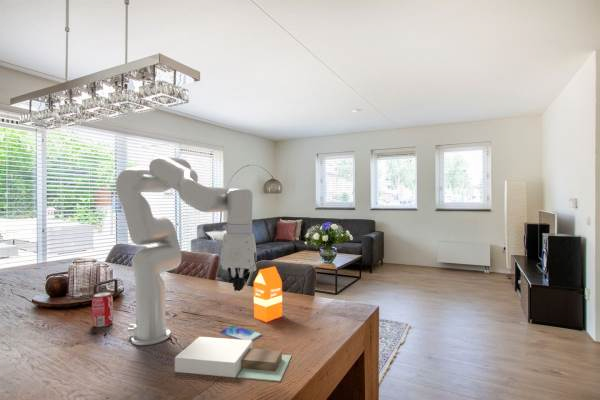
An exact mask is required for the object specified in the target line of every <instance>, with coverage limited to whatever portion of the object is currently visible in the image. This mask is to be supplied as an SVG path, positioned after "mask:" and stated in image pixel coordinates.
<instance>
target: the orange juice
mask: <svg viewBox="0 0 600 400" xmlns="http://www.w3.org/2000/svg"><path fill="white" fill-rule="evenodd" d="M253 315H254V316H253V317H254V318H255V319H257V320H259V321H262V322H265V323H268V322H270V321H273V320H275V319H279V318H280V317H282V316H283V281H282V278H281V277H280V274H279V272H278V270H277V268H276V266H271V267H267V268H262V269H259V270H258V273H257V275H256V277H255V279H254V280H253Z"/></svg>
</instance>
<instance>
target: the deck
mask: <svg viewBox="0 0 600 400" xmlns="http://www.w3.org/2000/svg"><path fill="white" fill-rule="evenodd" d="M250 348H253V341H252V340H240V339H235V338H226V337H225V338H224V337H212V336H210V337H209V336H198V337H196V339H195V340H193V342H191V343H190V344H189V345H187V347H185V348H184V349H183V350H182V351H181V352H180V353H179V354H177V355H176V356H175V357H174V372H175V373H184V374H194V375H195V374H196V375H204V376H205V375H207V376H214V377H215V376H216V377H225V378H226V377H227V378H237V376H238V375H239V373H240V372H241V370H242V369H243V368H241V359H242V358H243V357H244V355H245V354H246V353H247V351H248V350H249V349H250Z"/></svg>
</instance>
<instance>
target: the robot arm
mask: <svg viewBox="0 0 600 400" xmlns="http://www.w3.org/2000/svg"><path fill="white" fill-rule="evenodd" d="M197 173H198V172H196V171H195V170H193V169H192V167H191V164H190V163H189V162H188V161H187V160H186V159H183V158H178V157H174V156H171V157H170V156H165V155H163V156H156V157H155V158H154V159H152V160H151V161H150V163H149V165H148V168H145V167H144V168H143V167H142V168H141V167H130V168H125V169H123V170H122V171H121V172H120V173H119V174H118V176H117V178H116V182H115V188H116V195H117V197H118V199H119V202H120V204H121V206H122V210H123V212H124V216H125V217H124V218H125V222H126V225H127V229H128V234H129V238H130V239H131V242H132V243H133V244H134V245H136V246H146V245H153V244H156V245H157V246H152V247H146V248H143V249H141V250H138V251H137V252H135V253H134V255H133V256H132V257H131V258H132V259H131V269H132V273H133V277H134V286H135V287H134V288H135V294H134V295H135V323H130V324H129V325H128V328H127V330H126V331H127V333H133V335H132V336H131V339H130V341H131V342H130V343H132V344H133V345H136V346H149V345H150V346H151V345H155V344H159V343H161V342H164V341H165V340H167V339H169V338H170V337H171V335H172V332H171V330H170V329H169V328H167V317H166V315H167V312H166V310H167V309H166V305H167V304H166V303H167V302H166V284H165V281H164V280H163V278H162V276H161V274H163V273H166V272H168V271H172V270H175V269H177V268H178V267H179V266H180V265H181V263H182V251H181V247H180V242H179V240H178V234H177V230H176V227H175V226H174V223H173V222H172V221H171V219H169V218H167V217H164V216H163V217H162V216H160V217H159V216H158V217H155V216H153V213H152V208H151V205H150V204H149V202H148V200H147V199H146V197H145V196H143V194H141V193H164V192H167V191H169V190H171V189H173V190H175V191H176V192H178V193H177V194H178V196H179V197H180V199H181V201H182V202H183V203H185V204H186V205H188V206H190V207H191V208H193V209H194V210H196V211H199V212H203V213H221V212H223V213H224V212H226V224H223V225H222V229H223V230H225V233H224V234H223V237H222V240H221V241H222V242H221V249H220V259H219V263H220V265H221V269H222V270H223V271H224V270H225V271H227V272H228V273H229V274H230V275H231V278H233V279H232V286H233V290H234V292H235V291H237V292H238V291H239V292H240V291H242V290H243V289H244V287H245V276H246V275H248V274H249V273H252V272H255V271H257V266H256V264H257V245H256V238H255V234H254V233H253V199H254V198H253V191H252V190H251V189H249V188H229V187H217V186H216V187H215V186H214V187H213V186H212V187H211V186H205V185H203V184H202V183H199V182H198V181H199V179H198V177H199V176H198V174H197Z"/></svg>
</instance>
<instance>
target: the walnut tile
mask: <svg viewBox="0 0 600 400" xmlns="http://www.w3.org/2000/svg"><path fill="white" fill-rule="evenodd" d="M282 352H283V351H282V350H277V349H276V350H274V349H264V348H263V349H262V348H253V347H252V348H250V349H249V350H248V351H247V353H246V354H245V355H244V357H243V358H242V359H241V368H242V369H254V370H264V371H276V369H277V368H278V366H279V364H280V362H281V360H282V355H283V353H282Z"/></svg>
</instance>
